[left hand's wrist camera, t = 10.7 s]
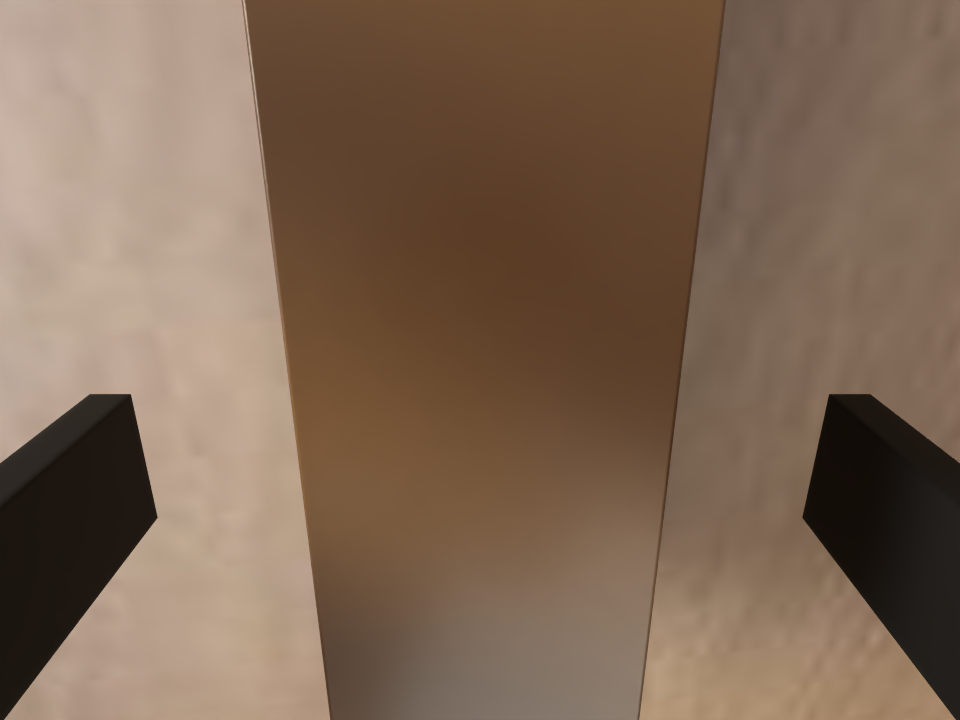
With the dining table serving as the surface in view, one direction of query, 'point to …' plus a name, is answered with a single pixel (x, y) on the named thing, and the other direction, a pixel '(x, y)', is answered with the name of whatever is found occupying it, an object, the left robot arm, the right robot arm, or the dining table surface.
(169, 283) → the dining table surface
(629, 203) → the post
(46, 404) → the dining table surface
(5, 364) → the dining table surface
